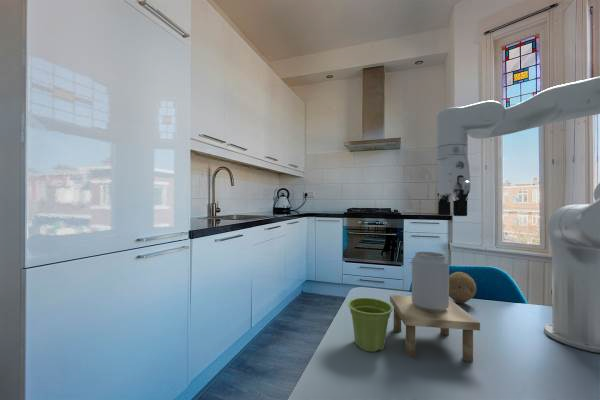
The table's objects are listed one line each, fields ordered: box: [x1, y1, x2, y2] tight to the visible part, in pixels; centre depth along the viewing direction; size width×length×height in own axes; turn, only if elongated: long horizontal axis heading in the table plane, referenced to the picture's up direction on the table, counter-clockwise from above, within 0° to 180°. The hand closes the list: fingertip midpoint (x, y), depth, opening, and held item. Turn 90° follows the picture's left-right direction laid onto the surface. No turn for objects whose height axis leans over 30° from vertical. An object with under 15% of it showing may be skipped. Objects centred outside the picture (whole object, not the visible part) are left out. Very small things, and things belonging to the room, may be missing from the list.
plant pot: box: [347, 297, 394, 353], centre depth 58 cm, size 9×9×9 cm
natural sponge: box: [449, 271, 477, 304], centre depth 85 cm, size 9×9×10 cm
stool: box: [389, 294, 481, 363], centre depth 59 cm, size 14×14×8 cm
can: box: [411, 251, 450, 312], centre depth 60 cm, size 8×8×12 cm
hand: (451, 215), depth 74 cm, fingers open, 9 cm apart
